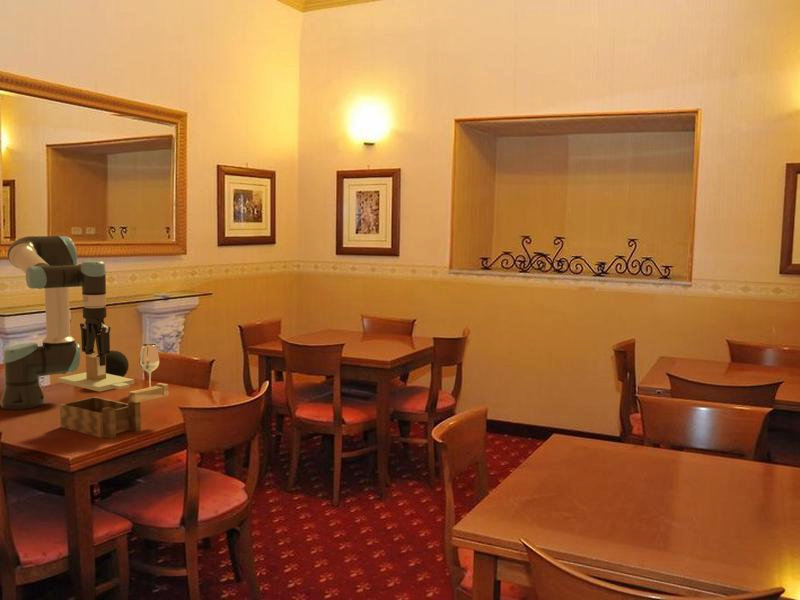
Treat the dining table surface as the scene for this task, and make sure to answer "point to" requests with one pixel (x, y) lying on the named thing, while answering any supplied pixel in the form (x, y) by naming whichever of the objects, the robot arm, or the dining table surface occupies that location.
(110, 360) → the dark ball on base
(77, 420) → the wooden box
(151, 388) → the light wooden bar
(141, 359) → the wineglass
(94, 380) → the lid
